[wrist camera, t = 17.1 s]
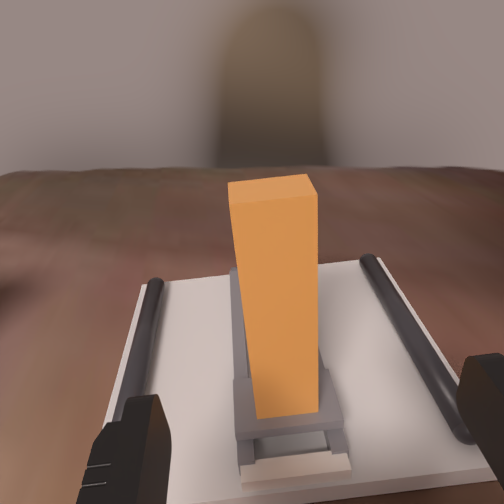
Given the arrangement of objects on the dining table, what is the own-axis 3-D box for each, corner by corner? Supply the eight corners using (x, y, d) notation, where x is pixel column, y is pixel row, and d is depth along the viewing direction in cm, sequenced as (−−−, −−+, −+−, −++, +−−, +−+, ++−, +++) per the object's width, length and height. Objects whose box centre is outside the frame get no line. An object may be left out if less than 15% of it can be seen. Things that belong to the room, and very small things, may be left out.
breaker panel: (378, 269, 34) (381, 243, 33) (508, 478, 19) (522, 445, 18) (145, 296, 34) (138, 270, 33) (85, 530, 19) (67, 501, 17)
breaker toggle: (328, 376, 22) (331, 165, 16) (343, 428, 19) (354, 197, 13) (234, 387, 22) (199, 180, 16) (236, 441, 19) (195, 215, 13)
